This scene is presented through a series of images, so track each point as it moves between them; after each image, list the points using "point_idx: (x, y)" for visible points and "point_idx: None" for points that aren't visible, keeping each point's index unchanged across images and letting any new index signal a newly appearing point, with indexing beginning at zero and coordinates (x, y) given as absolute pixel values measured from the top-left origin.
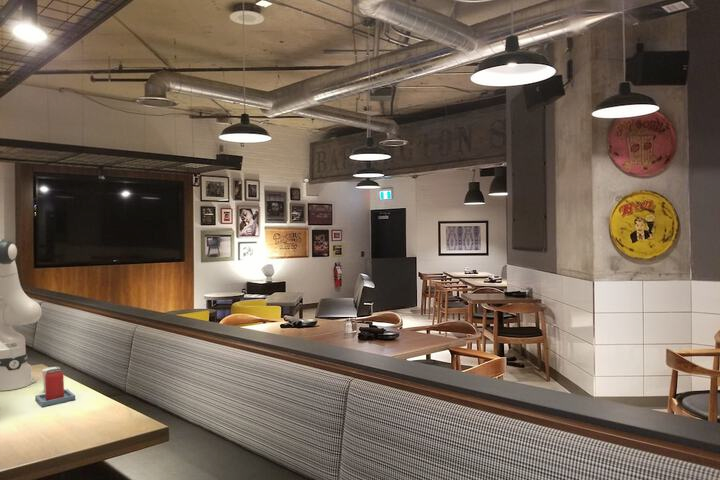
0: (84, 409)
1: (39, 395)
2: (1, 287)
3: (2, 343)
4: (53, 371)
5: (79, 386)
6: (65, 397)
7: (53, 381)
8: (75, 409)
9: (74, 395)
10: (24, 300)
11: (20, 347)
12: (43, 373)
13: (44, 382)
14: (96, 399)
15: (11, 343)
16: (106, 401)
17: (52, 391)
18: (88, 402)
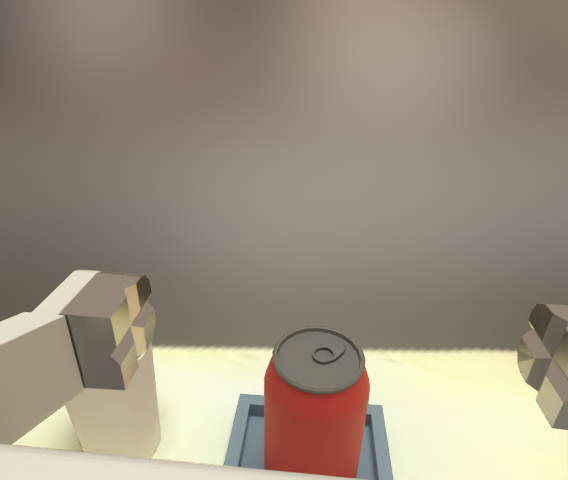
0: (564, 444)
1: None
2: None
3: (78, 477)
4: (322, 362)
5: (177, 350)
6: (387, 443)
7: (365, 416)
8: (545, 470)
9: (380, 407)
10: None
11: None
12: (94, 394)
13: (108, 433)
14: (426, 371)
15: (67, 316)
16: (480, 360)
17: (357, 465)
18: (453, 400)
